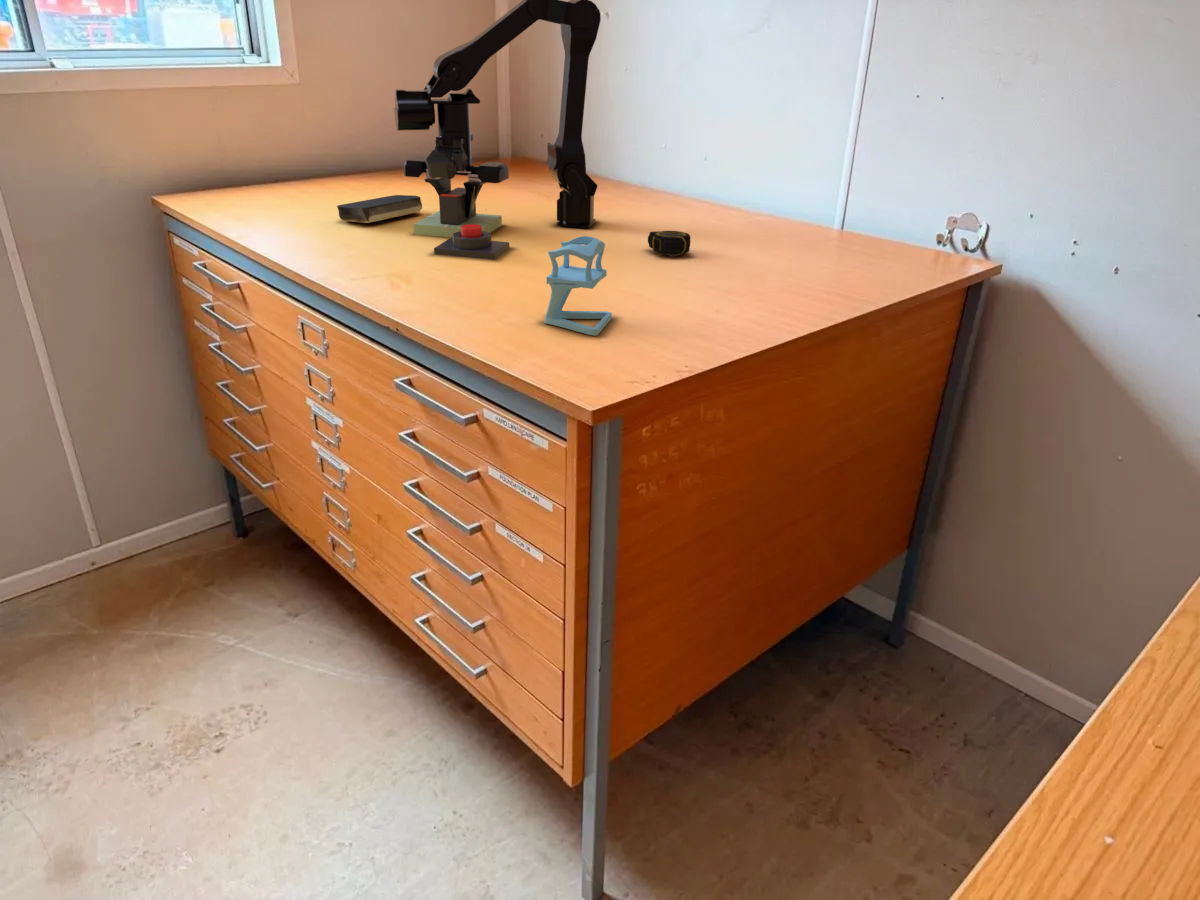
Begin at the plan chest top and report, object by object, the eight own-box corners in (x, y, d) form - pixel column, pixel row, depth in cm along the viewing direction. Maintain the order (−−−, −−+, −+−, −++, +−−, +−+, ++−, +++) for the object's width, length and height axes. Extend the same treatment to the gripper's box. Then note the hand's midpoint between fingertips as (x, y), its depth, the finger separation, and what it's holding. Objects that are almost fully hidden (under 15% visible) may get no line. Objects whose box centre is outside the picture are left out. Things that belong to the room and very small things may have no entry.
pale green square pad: (503, 225, 171) (503, 213, 170) (479, 241, 159) (479, 229, 158) (440, 219, 173) (439, 208, 172) (412, 235, 162) (411, 223, 161)
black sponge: (363, 228, 165) (361, 209, 164) (334, 221, 170) (332, 202, 168) (427, 214, 177) (425, 196, 175) (398, 208, 182) (397, 190, 180)
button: (485, 235, 153) (484, 225, 152) (477, 239, 150) (477, 229, 149) (465, 233, 153) (465, 223, 153) (458, 238, 150) (457, 228, 150)
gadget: (458, 213, 170) (457, 185, 167) (476, 215, 169) (475, 187, 167) (440, 223, 162) (438, 194, 160) (458, 225, 161) (457, 196, 159)
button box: (509, 248, 155) (509, 231, 154) (494, 260, 148) (494, 242, 147) (451, 243, 157) (450, 227, 156) (434, 254, 150) (433, 237, 149)
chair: (557, 311, 125) (557, 227, 119) (612, 318, 123) (615, 233, 117) (538, 329, 118) (537, 241, 113) (596, 336, 116) (598, 247, 111)
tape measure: (683, 248, 158) (685, 228, 156) (694, 258, 152) (695, 237, 150) (647, 249, 157) (648, 228, 155) (655, 259, 151) (657, 238, 149)
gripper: (386, 132, 153) (394, 222, 160) (486, 139, 149) (489, 230, 156) (414, 124, 163) (420, 209, 170) (508, 130, 159) (510, 217, 166)
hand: (458, 216), depth 165 cm, fingers closed on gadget, 3 cm apart
